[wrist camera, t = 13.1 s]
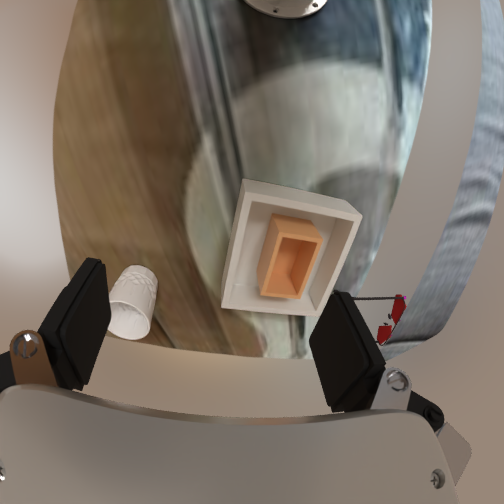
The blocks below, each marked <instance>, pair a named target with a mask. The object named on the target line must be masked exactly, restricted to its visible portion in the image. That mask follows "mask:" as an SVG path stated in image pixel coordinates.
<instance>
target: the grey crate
mask: <svg viewBox="0 0 504 504" xmlns="http://www.w3.org/2000/svg"><path fill="white" fill-rule="evenodd" d="M272 213H274V214H280V215H285V216H291V217H296V218H301V219H306V220H311V221H312V223H313V224H314V226H315V228H316V229H317V231H318V232H319V234H320V235H321V237H322V238H323V242H322V244H321V247H320V250H319V253H318V255H317V258H316V260H315V263H314V266H313V268H312V271H311V273H310V276H309V278H308V281H307V283H306V286H305V288H304V291H303V293H302V296H301V298H300V299H291V298H282V297H272V296H263V295H260V290H259V284H258V278H257V273H256V270H257V266H258V263H259V259H260V255H261V252H262V248H263V244H264V241H265V237H266V233H267V229H268V226H269V222H270V218H271V215H272ZM362 217H363V216H362V215H361V214H360V213H359V212H358V211H357V210H356V209H355V208H354V207H352V206H351V205H350V204H349V203H348V202H347V201H346V200H342V199H338V198H334V197H330V196H325V195H321V194H317V193H313V192H308V191H304V190H299V189H295V188H290V187H285V186H281V185H276V184H271V183H266V182H260V181H255V180H250V179H244V178H243V179H242V183H241V188H240V193H239V197H238V202H237V207H236V212H235V217H234V221H233V226H232V231H231V236H230V241H229V246H228V251H227V257H226V262H225V267H224V272H223V277H222V283H221V308H228V309H237V310H246V311H256V312H266V313H277V314H289V315H303V316H318V317H319V316H320V314H321V312H322V310H323V308H324V306H325V304H326V302H327V300H328V298H329V295H330V293H331V291H332V289H333V287H334V285H335V282H336V280H337V278H338V276H339V273H340V271H341V269H342V266H343V264H344V262H345V259H346V257H347V255H348V252H349V250H350V248H351V245H352V243H353V240H354V238H355V235H356V233H357V230H358V228H359V225H360V222H361V220H362Z"/></svg>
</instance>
